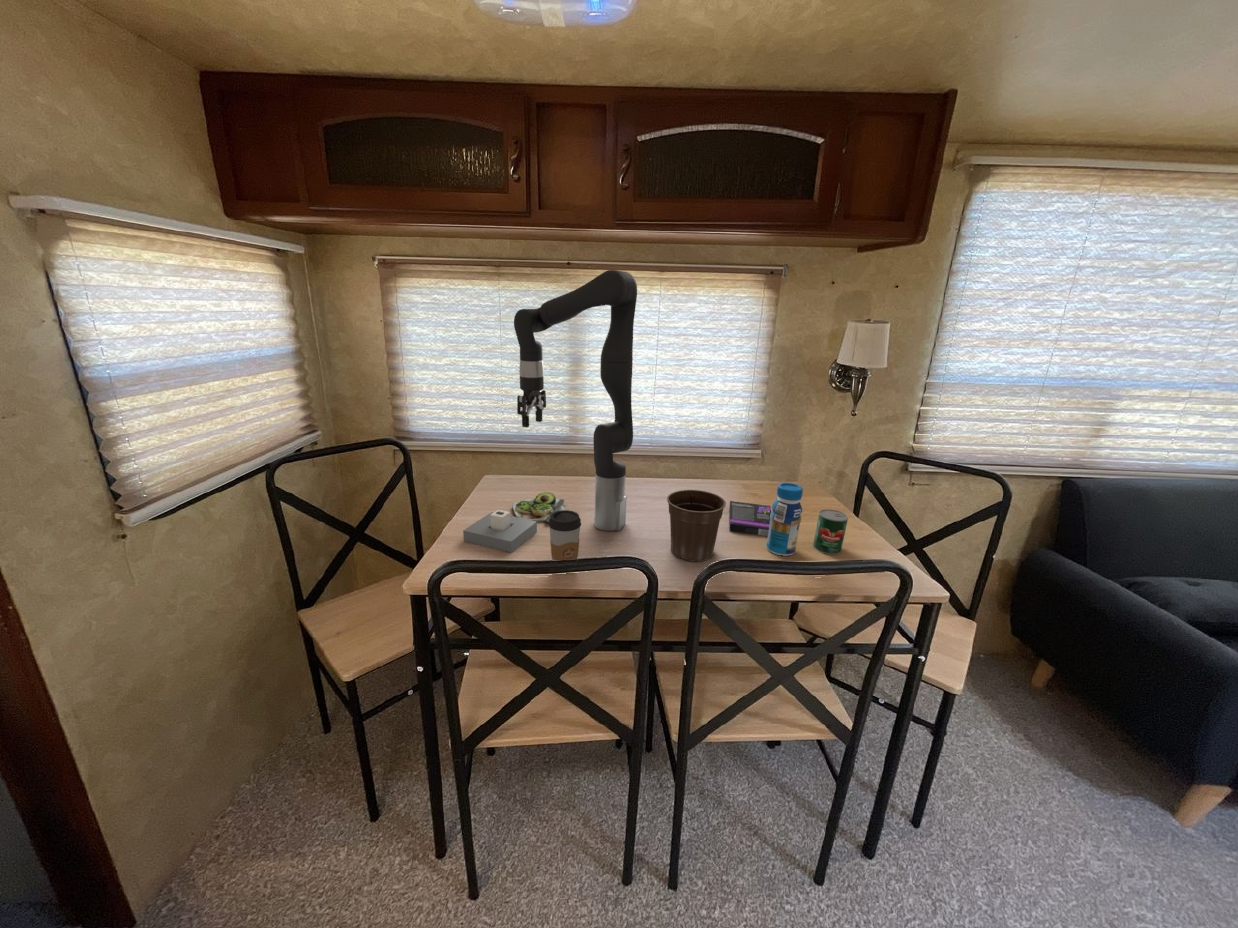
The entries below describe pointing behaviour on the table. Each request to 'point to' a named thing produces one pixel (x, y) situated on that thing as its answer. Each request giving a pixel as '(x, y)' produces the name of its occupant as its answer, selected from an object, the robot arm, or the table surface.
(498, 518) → the block
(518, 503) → the avocado toast plate
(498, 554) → the table surface
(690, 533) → the plant pot
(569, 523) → the coffee cup
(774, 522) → the beverage bottle
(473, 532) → the outlet box
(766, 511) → the box
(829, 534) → the canned tomato
